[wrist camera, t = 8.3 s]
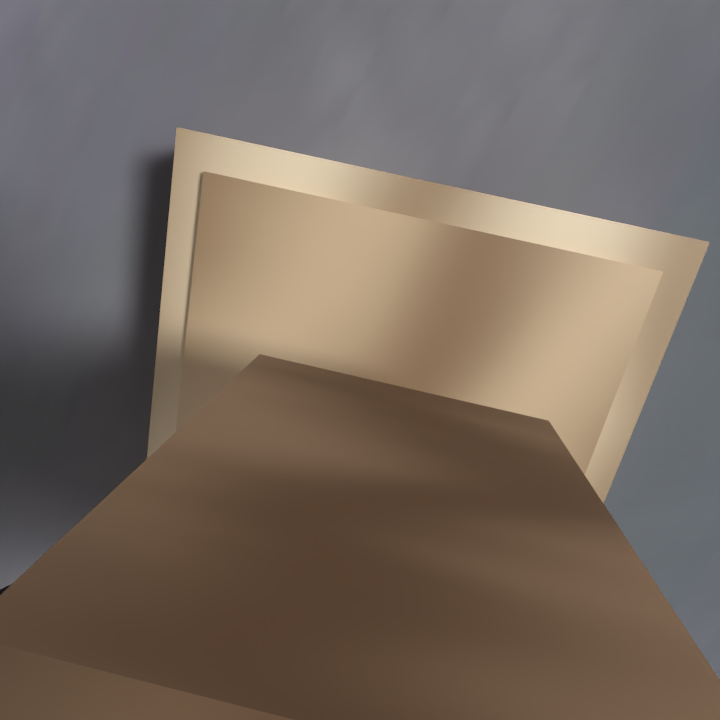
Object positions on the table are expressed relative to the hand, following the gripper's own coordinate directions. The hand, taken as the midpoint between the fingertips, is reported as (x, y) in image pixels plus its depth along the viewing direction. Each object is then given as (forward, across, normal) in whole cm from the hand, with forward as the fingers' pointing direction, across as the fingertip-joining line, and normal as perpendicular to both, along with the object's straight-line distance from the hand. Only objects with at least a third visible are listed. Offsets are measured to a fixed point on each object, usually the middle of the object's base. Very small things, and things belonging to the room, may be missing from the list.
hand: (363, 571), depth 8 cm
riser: (+8, 0, 0) cm, 8 cm away
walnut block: (+2, 0, 0) cm, 2 cm away
